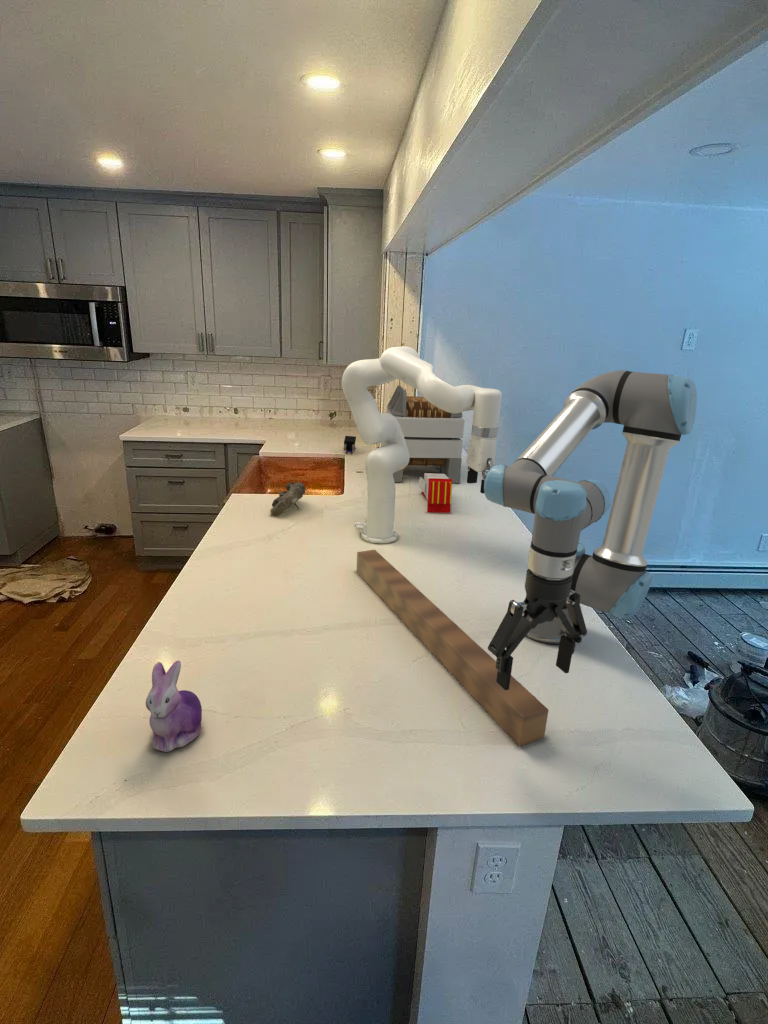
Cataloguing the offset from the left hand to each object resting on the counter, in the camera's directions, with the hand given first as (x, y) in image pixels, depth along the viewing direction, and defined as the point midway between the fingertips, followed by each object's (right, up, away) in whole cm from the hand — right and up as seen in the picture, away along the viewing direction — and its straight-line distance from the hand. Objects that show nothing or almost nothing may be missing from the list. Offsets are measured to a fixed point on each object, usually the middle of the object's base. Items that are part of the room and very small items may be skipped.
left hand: (478, 487), depth 171 cm
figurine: (-66, -48, -68) cm, 106 cm away
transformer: (-11, +11, +104) cm, 105 cm away
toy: (-8, -3, +64) cm, 64 cm away
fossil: (-65, -6, +49) cm, 82 cm away
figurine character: (-47, +25, +138) cm, 148 cm away
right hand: (-1, -38, -68) cm, 77 cm away
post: (-18, -38, -33) cm, 53 cm away
